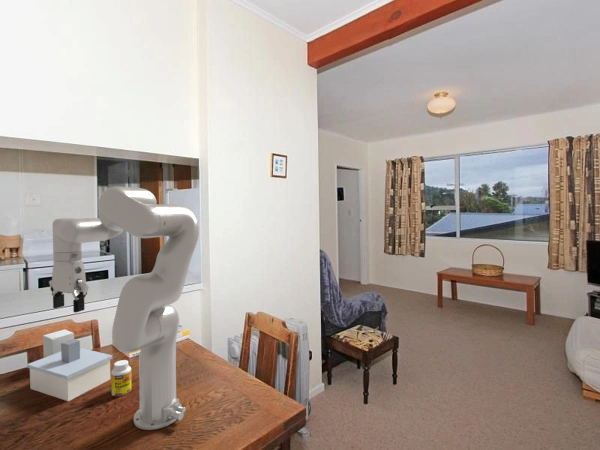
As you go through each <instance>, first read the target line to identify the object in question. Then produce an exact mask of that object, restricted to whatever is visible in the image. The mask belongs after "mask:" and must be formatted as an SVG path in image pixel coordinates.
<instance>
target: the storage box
mask: <svg viewBox="0 0 600 450" xmlns="http://www.w3.org/2000/svg"><path fill="white" fill-rule="evenodd" d="M109 380H110V381H111V359H110V360H108V361H106V362H103V363H101V364H99V365H97V366H95V367H93V368H91V369H88V370H86V371H84V372H82V373H80V374H78V375H75V376H73V377H71V378H69V379H64V378H61V377H57V376H54V375H51V374H47V373H44V372H40V371H37V370H34V369H30V368H29V382H30V385H29V386H30V389H31V390H33V391H37V392H39V393H42V394H45V395H48V396H51V397H54V398H57V399H60V400H64V401H65V402H70V401H72V400H73V399H75V398H77V397H80V396H81V395H84V394H86V393H87V392H89V391H91V390H93V389H94V388H96V387H99V386H100V385H102V384H104V383H106V382H107V381H109Z"/></svg>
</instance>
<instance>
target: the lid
mask: <svg viewBox="0 0 600 450" xmlns="http://www.w3.org/2000/svg"><path fill="white" fill-rule="evenodd" d="M80 346H81V343H80V340H78V339H75V338H74V339H71V340H68V341H65V342H62V343H61V352H58V353H55V354H53V355H50V356H48V357H45V358H44V357H43V358H40V359H38V360H35V361H33V362H29V363H27V364H26V368H27V369H29V370H30V369H34V370H37V371H40V372H44V373H47V374H51V375H54V376H57V377H61V378H64V379H69V378H71V377H73V376H75V375H78V374H80V373H82V372H84V371H86V370H88V369H91V368H93V367H95V366H97V365H99V364H101V363H103V362H106V361H108V360H110V361H111V359H113V355H112V354H109V353H104V352H100V351H94V350H91V349H87V348H83V347H80Z"/></svg>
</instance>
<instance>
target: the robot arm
mask: <svg viewBox="0 0 600 450" xmlns="http://www.w3.org/2000/svg"><path fill="white" fill-rule="evenodd" d="M157 202H158V201H157V199H156V196H155V195H154V194H153V193H152V192H151V191H150V190H149V189H147V188H146V189H145V188H140V187H132V186H131V187H130V186H127V187H126V186H111V187H108V188H106V189H105V190H104V191H103V192H101V194H100V195H99V199H98V208H99V209H98V212H97V213H98V214H97V215H98V217H96V218H95V217H91V218H87V217H86V218H84V217H83V218H70V217H68V218H66V217H65V218H56V219H54V220H53V221H52V256H53V257H52V259H53V260H52V261H53V266H52V273H51V274H52V277H51V280H49V281H48V284H49V287H50V291H51V296H52V308H53V309H58V308H62V307H65V294H71V295H72V297H73V301H72V303H73V304H72V305H73V309H72V310H73V313H74V314H75V313H79V312H81V311H84V310H85V298H86V296H87V295H88V291H89V285H88V284H87V279H86V270H85V269H86V268H85V266H84V262H83V259H82V258H83V255H82V254H83V253H82V248H83V247H82V244H83V243H94V242H103V241H108V240H111V239H113V238H115V237H117V236H120V235H121V234H122V233H123V232H124V231H125V232H127V233H128V234H130V235H131V236H134V237H136V238H139V239H151V238H152V239H153V238H163V237H168V239H167V240H166V241H165V243H164V244H163V245H162V246H161V248H160V250H159V252H158V253H157V256H156V260H155V263H154V266H153V268H152V271H151V272H148V273H146V274H141V275H137V276H134V277H132V278H131V279H129V280H128V281H127V282H125V284H124V285H123V287H122V289H121V291H120V295H119V299H118V301H117V302H118V303H117V307H116V311H115V315H114V319H113V324H112V330H111V334H112V335H111V337H112V342H113V345H114V347H115V348H116V350H118V351H119V352H121V353H125V354H130V353H134V352H137V351H140V352H139V357H138V379H139V381H138V382H139V383H138V384H139V388H138V389H139V393H138V395H139V409H138V410H136V412H135V413H134V414H133V415H134V416H133V425H134V426H135V427H136V428H138V429H140V430H144V431H145V430H146V431H154V430H159V429H162V428H166V427H168V426H170V425H171V424H173V423H175V422H176V421H177V420H178V421H182V420H183V419H184V416H185V415H184V413H186V410H187V408H186V407H184V406H182V404H181V403H180V398H177V367H176V366H177V365H176V363H177V362H176V361H177V351H176V349H177V338H178V337H177V336H178V333H179V327H180V316H179V313H178V311H177V309H176V308H175V307H174V306H173V305H172V304H174V303H176V302H177V301H179V300H180V297H181V295H182V293H183V289H184V286H185V282H186V279H187V275H188V272H189V267H190V264H191V260H192V258H193V254H194V252H195V249H196V247H197V244H198V241H199V234H200V227H199V221H198V219H197V217H196V215H195V214H194V213H193V211H191V209H189V208H187V207H185V206H182V205H179V204H160V203H159V204H157Z"/></svg>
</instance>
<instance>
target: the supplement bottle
mask: <svg viewBox="0 0 600 450" xmlns="http://www.w3.org/2000/svg"><path fill="white" fill-rule="evenodd" d="M110 381H111V396H113V397H122V396H127V395H128V394H129V393H131V392H132V367H131V366H130V365H129V361H128V360H127V359H123V360H122V359H121V360H117V361H115V362H114V363H113V369H112V370H111V371H110Z"/></svg>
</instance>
